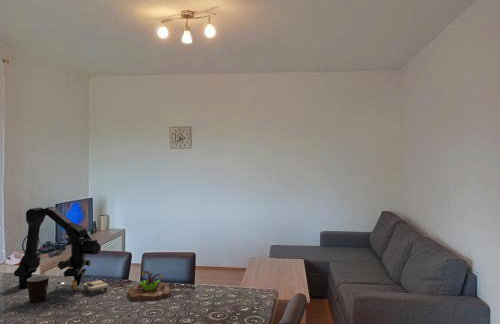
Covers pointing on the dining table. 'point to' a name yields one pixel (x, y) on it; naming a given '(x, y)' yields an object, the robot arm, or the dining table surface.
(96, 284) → the level stand
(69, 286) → the cam capstan
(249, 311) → the dining table surface
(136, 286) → the plant
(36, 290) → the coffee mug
